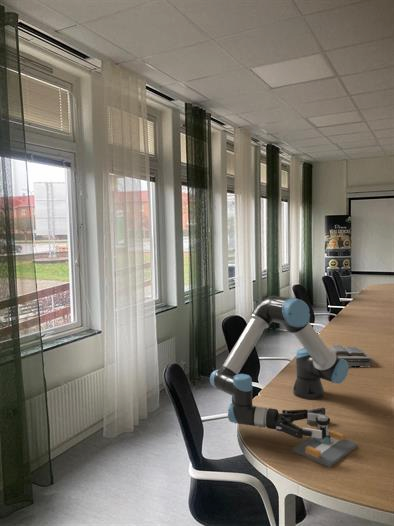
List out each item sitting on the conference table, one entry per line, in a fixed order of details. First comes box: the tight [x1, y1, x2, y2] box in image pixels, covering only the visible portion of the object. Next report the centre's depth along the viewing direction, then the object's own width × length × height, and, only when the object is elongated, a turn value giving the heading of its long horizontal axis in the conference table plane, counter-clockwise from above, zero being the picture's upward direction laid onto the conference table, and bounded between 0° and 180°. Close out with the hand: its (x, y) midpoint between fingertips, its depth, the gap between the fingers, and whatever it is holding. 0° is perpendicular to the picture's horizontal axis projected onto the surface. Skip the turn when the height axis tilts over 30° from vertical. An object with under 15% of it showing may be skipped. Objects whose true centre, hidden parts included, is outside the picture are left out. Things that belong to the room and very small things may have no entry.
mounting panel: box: [292, 429, 358, 469], centre depth 152 cm, size 20×15×3 cm
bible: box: [328, 345, 372, 367], centre depth 255 cm, size 23×27×10 cm
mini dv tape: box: [306, 407, 326, 426], centre depth 174 cm, size 8×2×6 cm, turn 110°
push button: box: [316, 414, 334, 444], centre depth 154 cm, size 7×5×10 cm
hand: (323, 426), depth 152 cm, fingers open, 13 cm apart
